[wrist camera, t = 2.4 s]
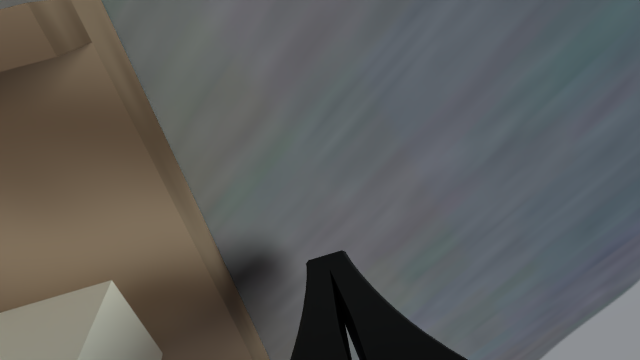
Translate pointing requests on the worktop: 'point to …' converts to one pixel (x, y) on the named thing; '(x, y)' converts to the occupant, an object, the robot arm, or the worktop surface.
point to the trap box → (103, 188)
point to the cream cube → (77, 328)
